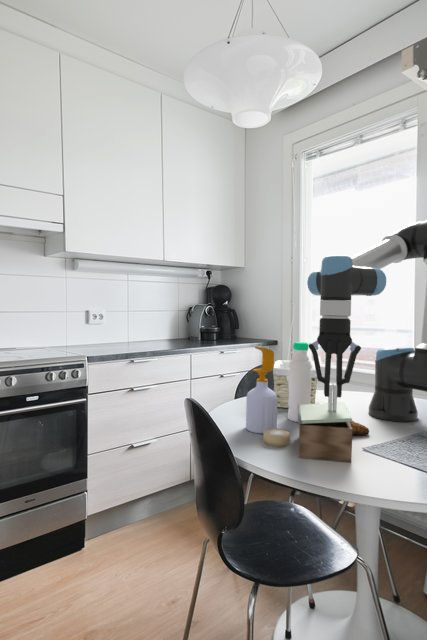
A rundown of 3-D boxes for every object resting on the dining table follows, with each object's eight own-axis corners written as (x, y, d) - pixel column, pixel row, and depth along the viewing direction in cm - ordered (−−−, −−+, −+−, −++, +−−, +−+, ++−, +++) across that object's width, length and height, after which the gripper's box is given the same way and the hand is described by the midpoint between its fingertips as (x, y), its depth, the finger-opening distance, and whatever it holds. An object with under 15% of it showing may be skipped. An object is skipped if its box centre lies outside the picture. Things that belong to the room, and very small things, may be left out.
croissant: (322, 436, 114) (322, 419, 114) (319, 429, 121) (319, 412, 121) (372, 439, 112) (372, 421, 112) (366, 431, 119) (366, 415, 119)
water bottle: (310, 423, 125) (312, 343, 124) (287, 421, 127) (289, 343, 126) (309, 417, 132) (311, 341, 131) (288, 415, 134) (289, 341, 133)
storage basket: (274, 394, 166) (275, 358, 166) (314, 396, 163) (315, 360, 162) (271, 409, 143) (272, 367, 142) (318, 412, 140) (319, 369, 139)
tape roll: (290, 439, 111) (290, 430, 111) (289, 447, 104) (289, 438, 104) (264, 436, 112) (264, 427, 112) (262, 445, 106) (262, 435, 106)
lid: (344, 405, 110) (344, 402, 110) (352, 421, 95) (351, 417, 95) (298, 407, 113) (297, 404, 113) (298, 424, 97) (297, 420, 97)
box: (343, 440, 111) (344, 411, 110) (351, 462, 95) (352, 429, 95) (299, 436, 113) (299, 408, 113) (299, 457, 97) (300, 425, 97)
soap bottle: (239, 428, 119) (241, 346, 118) (259, 422, 126) (260, 344, 124) (263, 436, 113) (265, 349, 112) (282, 429, 119) (284, 347, 118)
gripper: (360, 317, 104) (357, 407, 105) (307, 316, 107) (305, 404, 108) (365, 318, 97) (362, 415, 98) (308, 317, 100) (305, 411, 101)
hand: (332, 409), depth 103 cm, fingers closed
